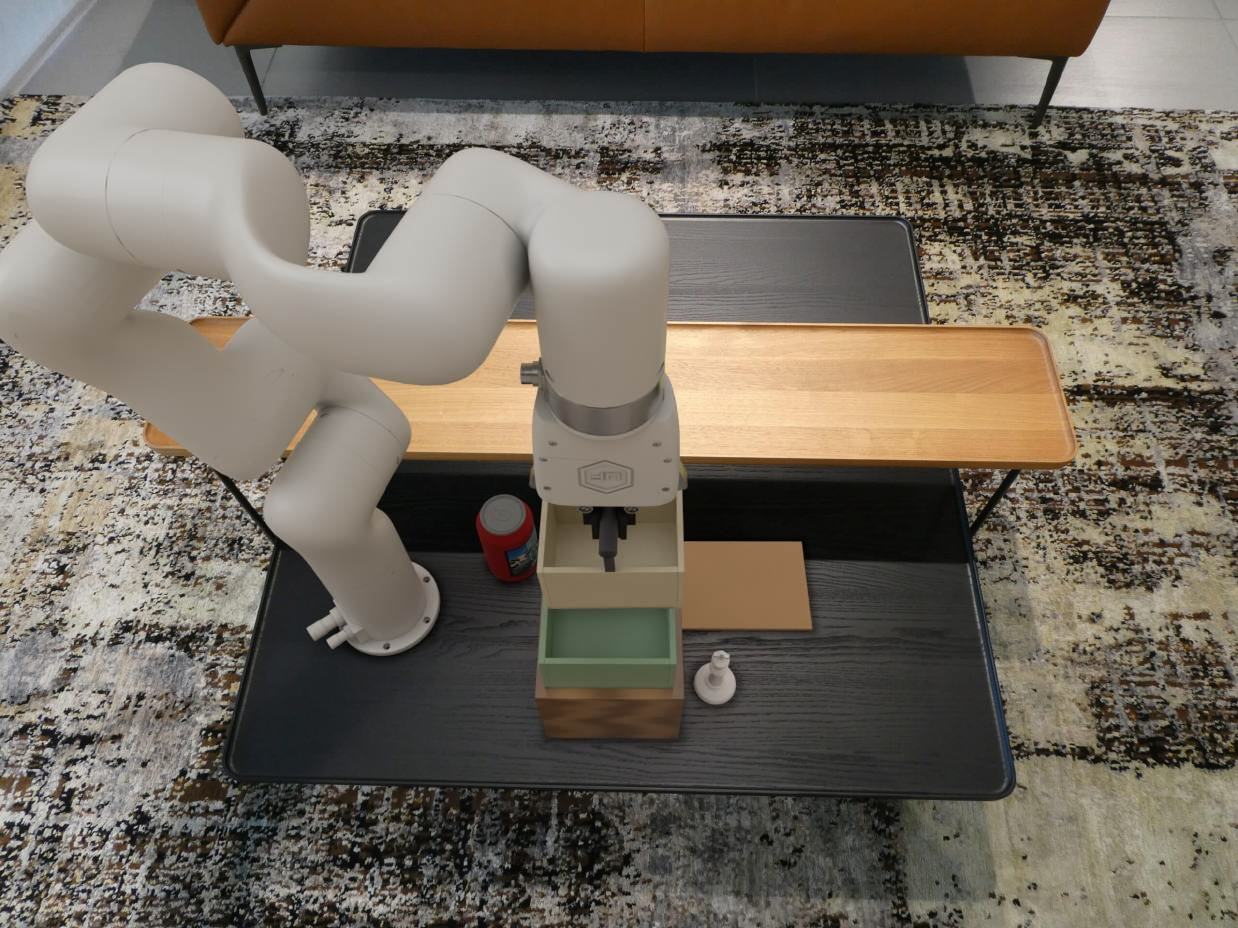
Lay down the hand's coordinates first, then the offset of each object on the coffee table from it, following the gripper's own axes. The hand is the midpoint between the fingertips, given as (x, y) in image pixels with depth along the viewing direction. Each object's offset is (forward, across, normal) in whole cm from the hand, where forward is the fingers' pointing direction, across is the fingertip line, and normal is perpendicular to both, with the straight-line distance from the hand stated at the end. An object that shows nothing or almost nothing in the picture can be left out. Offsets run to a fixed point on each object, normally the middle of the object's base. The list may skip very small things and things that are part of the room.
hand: (610, 523), depth 68 cm
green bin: (+24, 0, -1) cm, 24 cm away
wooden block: (+38, 0, -1) cm, 38 cm away
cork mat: (+38, +15, +12) cm, 42 cm away
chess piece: (+38, +12, 0) cm, 40 cm away
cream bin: (+7, 0, 0) cm, 7 cm away
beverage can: (+38, -13, +16) cm, 43 cm away
